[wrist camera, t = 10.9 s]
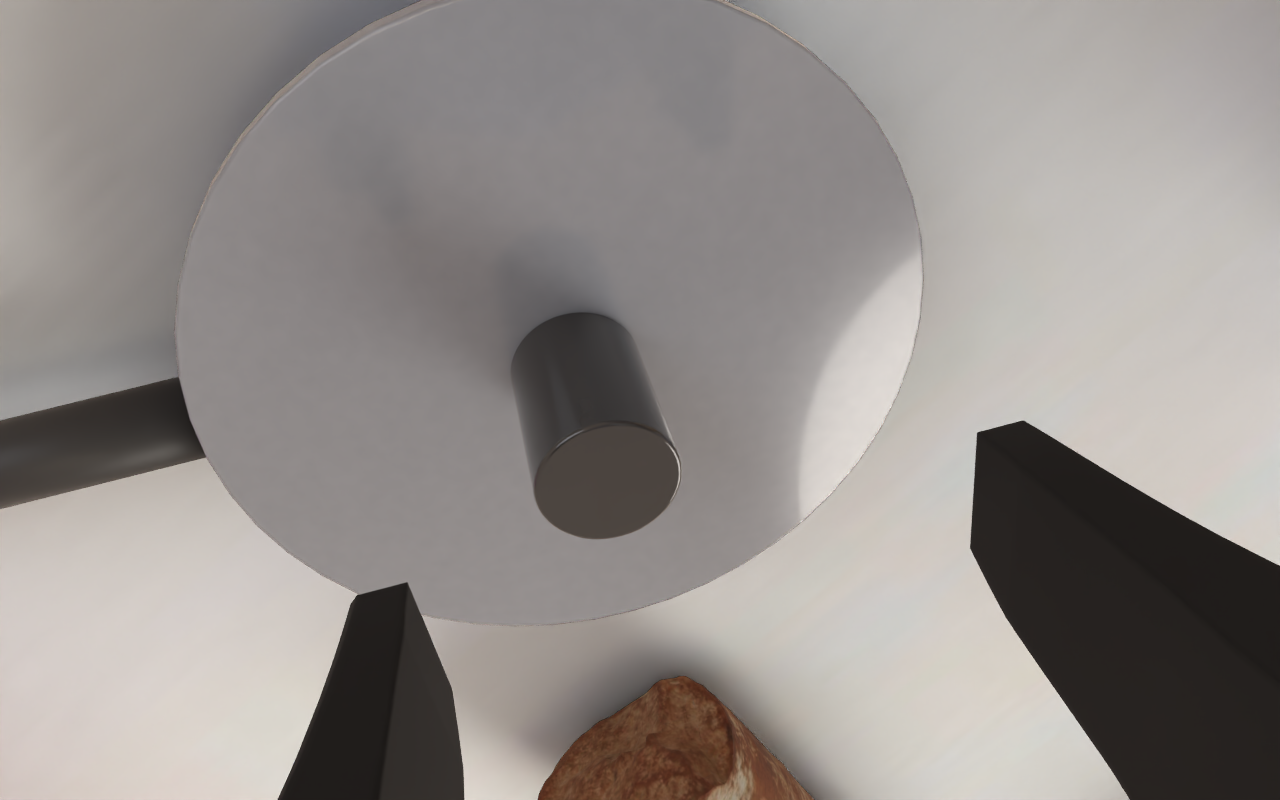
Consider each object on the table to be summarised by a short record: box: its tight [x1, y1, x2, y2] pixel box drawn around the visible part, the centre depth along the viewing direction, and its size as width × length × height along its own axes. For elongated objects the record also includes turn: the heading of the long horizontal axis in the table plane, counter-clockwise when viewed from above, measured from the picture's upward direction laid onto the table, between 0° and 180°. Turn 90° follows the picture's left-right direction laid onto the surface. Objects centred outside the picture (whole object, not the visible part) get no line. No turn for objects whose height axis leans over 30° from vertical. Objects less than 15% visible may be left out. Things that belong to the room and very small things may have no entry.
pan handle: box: [0, 377, 206, 509], centre depth 20 cm, size 10×2×2 cm, turn 99°
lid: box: [174, 0, 924, 626], centre depth 18 cm, size 14×14×4 cm
